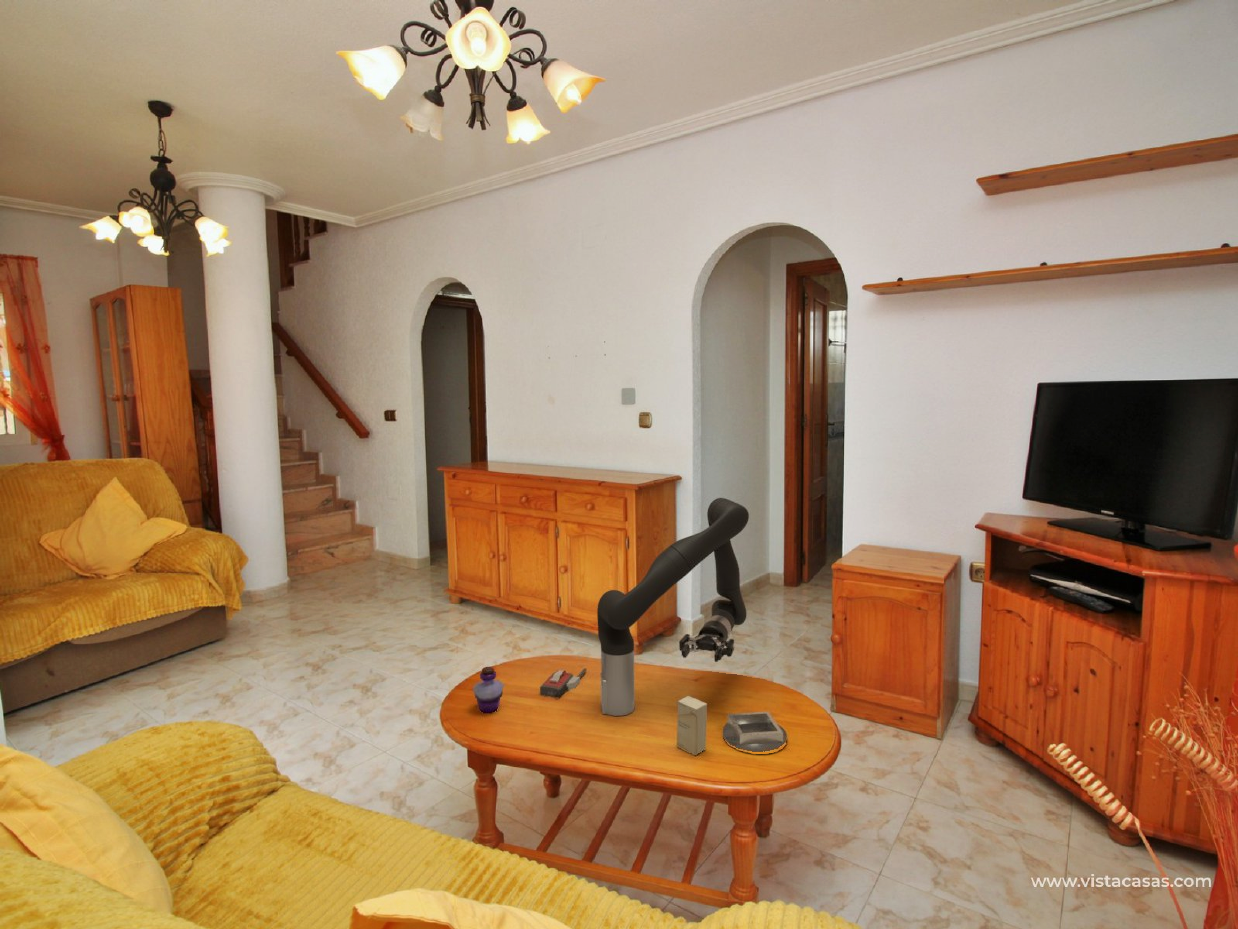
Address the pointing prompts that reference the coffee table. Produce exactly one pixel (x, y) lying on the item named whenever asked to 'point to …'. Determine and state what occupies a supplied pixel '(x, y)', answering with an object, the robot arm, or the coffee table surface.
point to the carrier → (754, 732)
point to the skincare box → (691, 725)
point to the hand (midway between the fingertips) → (699, 656)
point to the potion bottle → (488, 691)
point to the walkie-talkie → (560, 683)
